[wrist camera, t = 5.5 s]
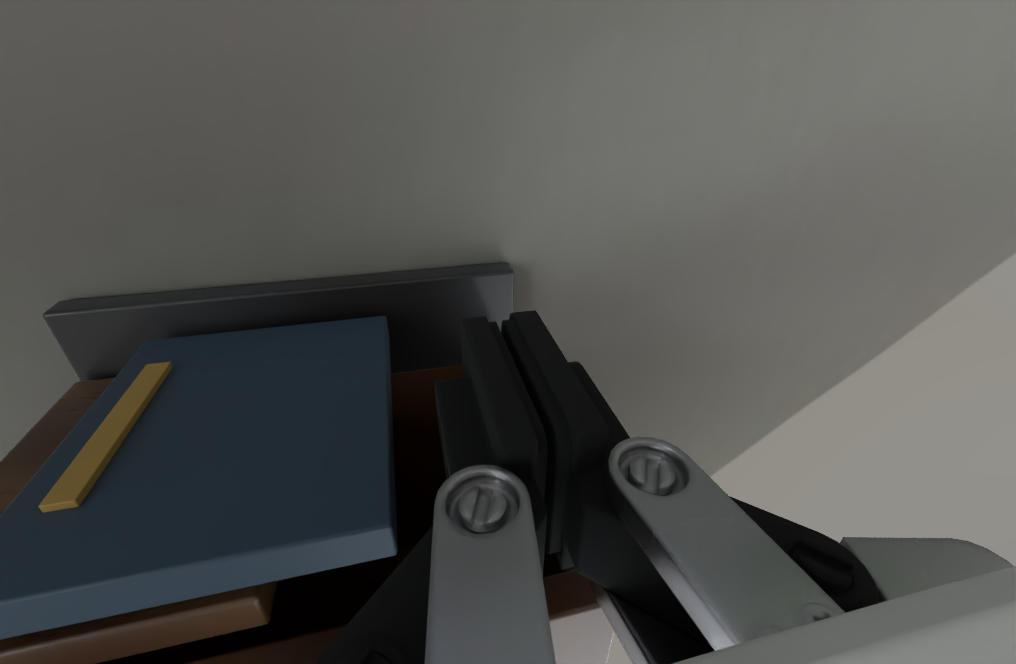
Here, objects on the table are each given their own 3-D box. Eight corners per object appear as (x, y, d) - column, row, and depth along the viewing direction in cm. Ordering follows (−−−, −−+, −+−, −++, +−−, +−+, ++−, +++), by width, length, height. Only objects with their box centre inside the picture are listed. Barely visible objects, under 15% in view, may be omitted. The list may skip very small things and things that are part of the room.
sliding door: (157, 365, 12) (-52, 652, 6) (142, 334, 12) (-100, 614, 6) (389, 338, 13) (398, 556, 7) (385, 309, 13) (390, 518, 7)
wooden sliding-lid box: (215, 581, 18) (100, 947, 11) (58, 299, 12) (-507, 720, 4) (506, 521, 21) (579, 783, 13) (508, 260, 14) (652, 483, 7)
